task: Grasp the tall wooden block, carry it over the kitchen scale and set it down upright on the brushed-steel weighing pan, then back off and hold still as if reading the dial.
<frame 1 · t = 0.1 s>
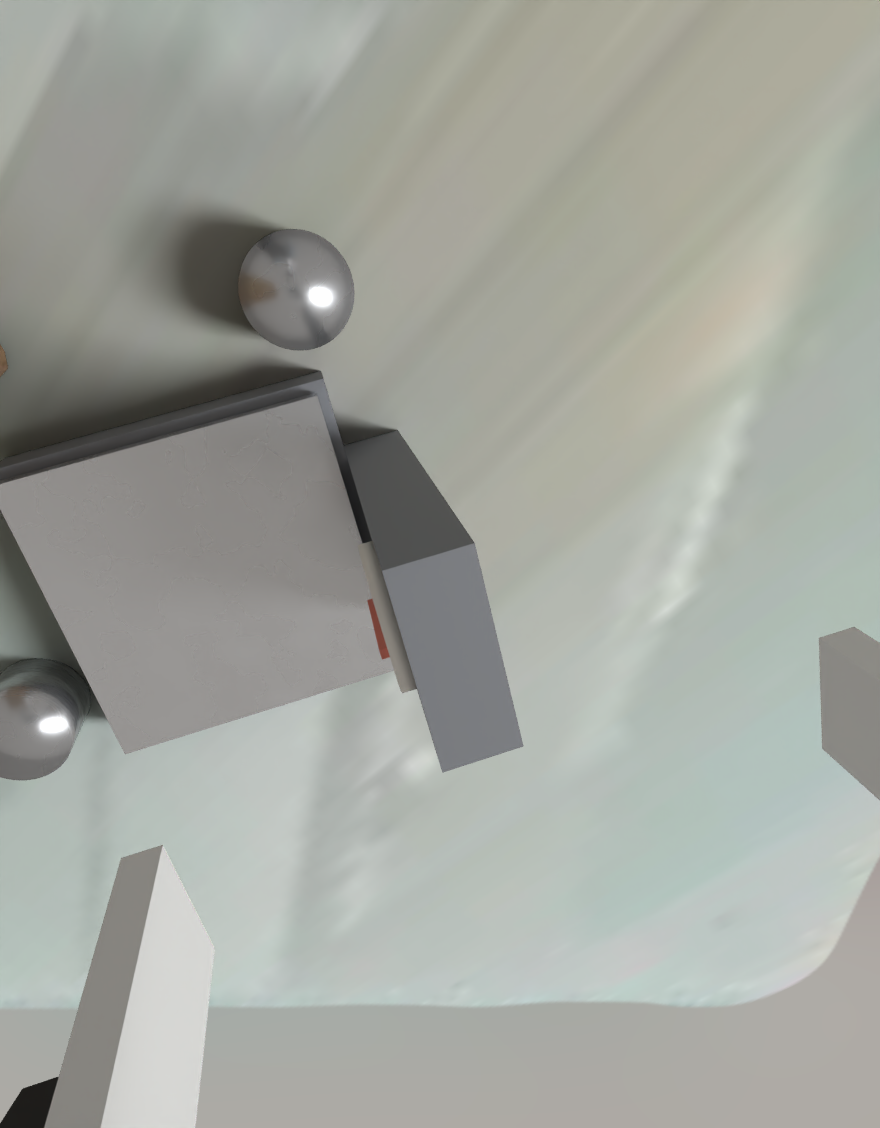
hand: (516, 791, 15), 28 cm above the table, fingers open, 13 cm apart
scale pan: (218, 572, 38), point 2 cm above the table, slide at -1.1 cm
spacer b: (296, 289, 36), on the table
spacer a: (42, 698, 42), on the table
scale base: (221, 556, 40), on the table
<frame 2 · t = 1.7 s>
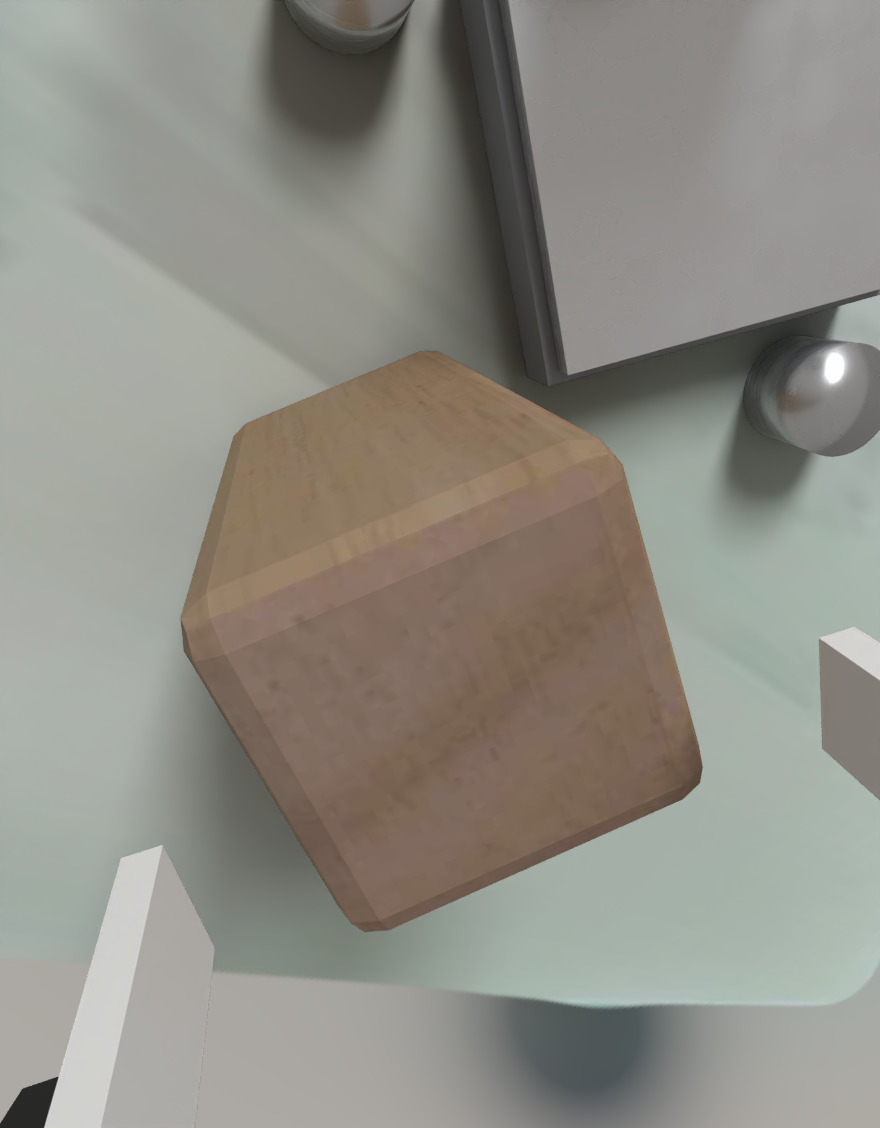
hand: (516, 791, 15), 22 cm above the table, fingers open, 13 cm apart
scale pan: (699, 132, 30), point 2 cm above the table, slide at -1.1 cm
wooden block: (375, 484, 35), on the table
spacer a: (789, 388, 37), on the table
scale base: (672, 141, 32), on the table
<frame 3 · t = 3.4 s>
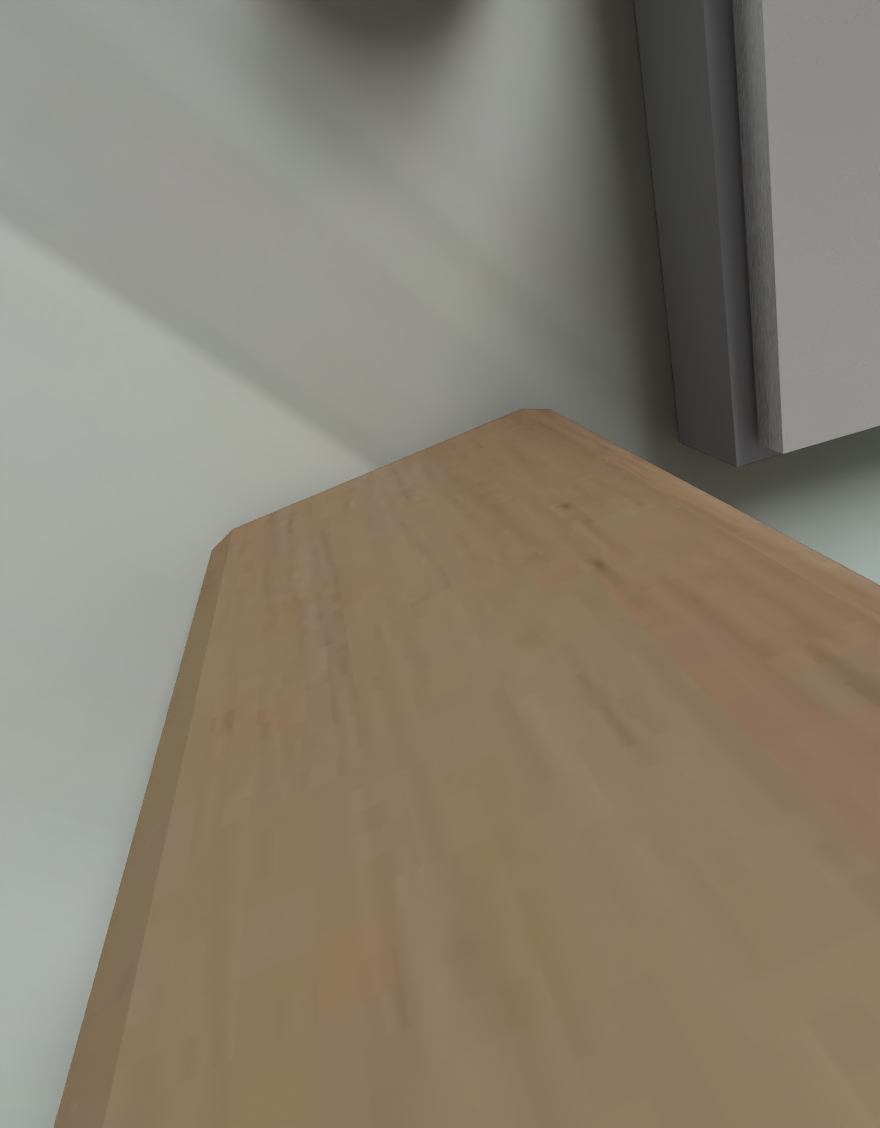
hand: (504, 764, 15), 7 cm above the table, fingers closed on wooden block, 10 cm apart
wooden block: (436, 610, 22), on the table, touching gripper
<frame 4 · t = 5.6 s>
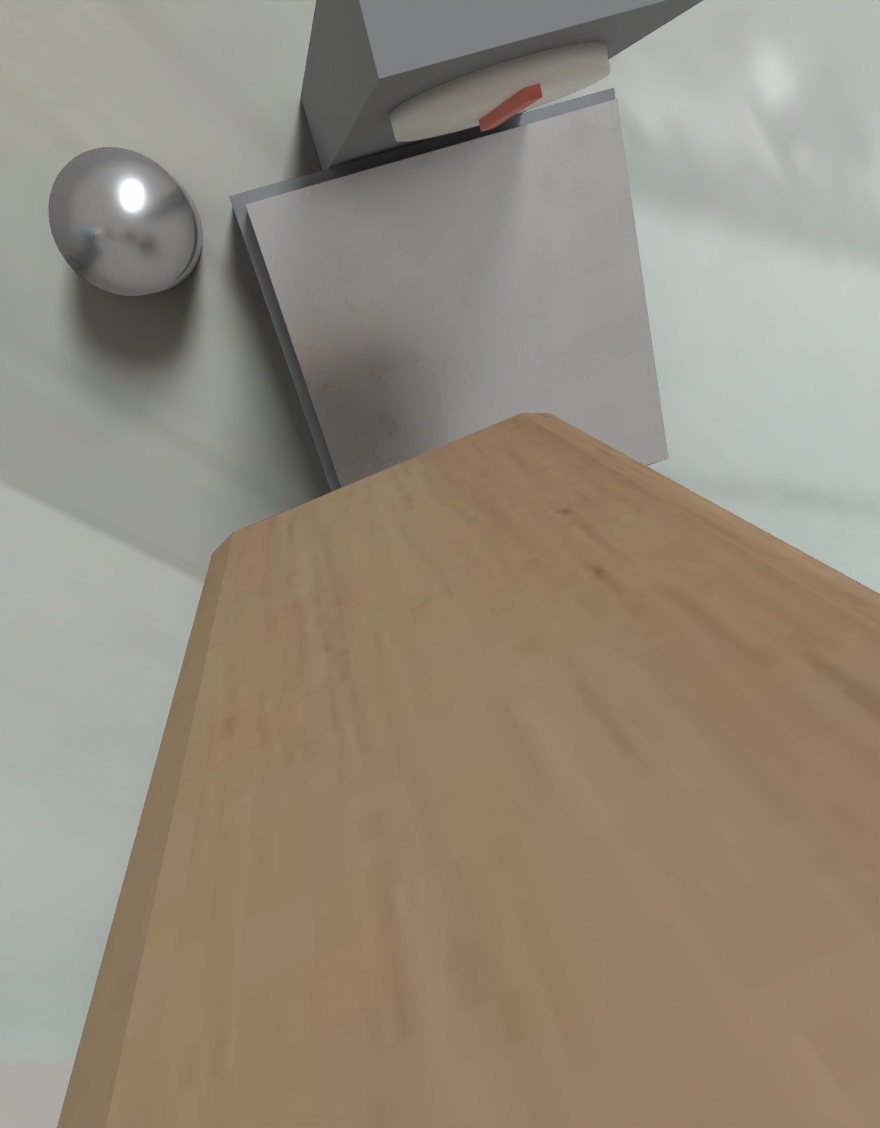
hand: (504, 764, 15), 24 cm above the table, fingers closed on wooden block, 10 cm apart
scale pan: (470, 342, 33), point 2 cm above the table, slide at -1.1 cm
wooden block: (436, 613, 22), point 16 cm above the table, touching gripper
spacer b: (140, 229, 31), on the table
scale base: (458, 337, 35), on the table
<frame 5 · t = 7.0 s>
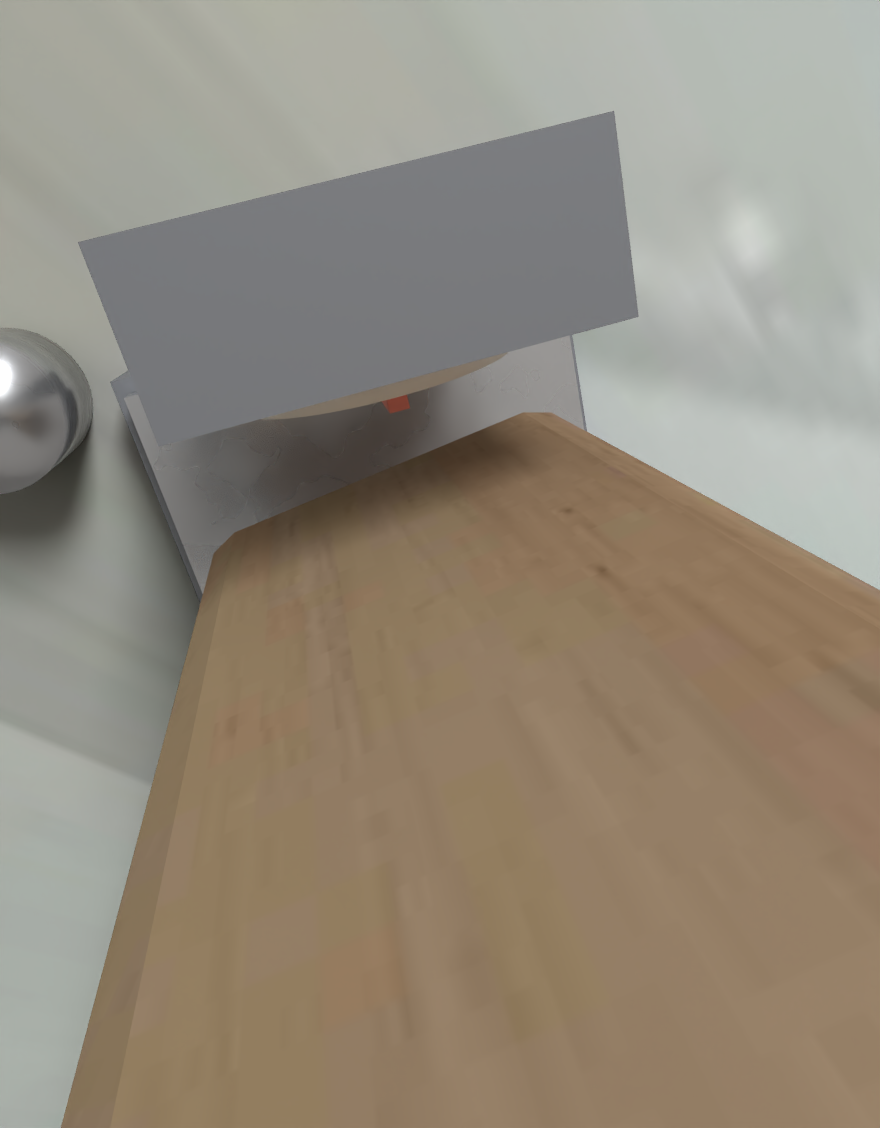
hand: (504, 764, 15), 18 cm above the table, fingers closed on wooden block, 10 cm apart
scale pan: (396, 526, 29), point 2 cm above the table, slide at -1.1 cm
wooden block: (438, 612, 22), point 10 cm above the table, touching gripper
spacer b: (20, 398, 27), on the table
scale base: (389, 509, 32), on the table
when the fingers open (14 cm above the table, at t = 8.2 s): wooden block drops 3 cm, resting on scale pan.
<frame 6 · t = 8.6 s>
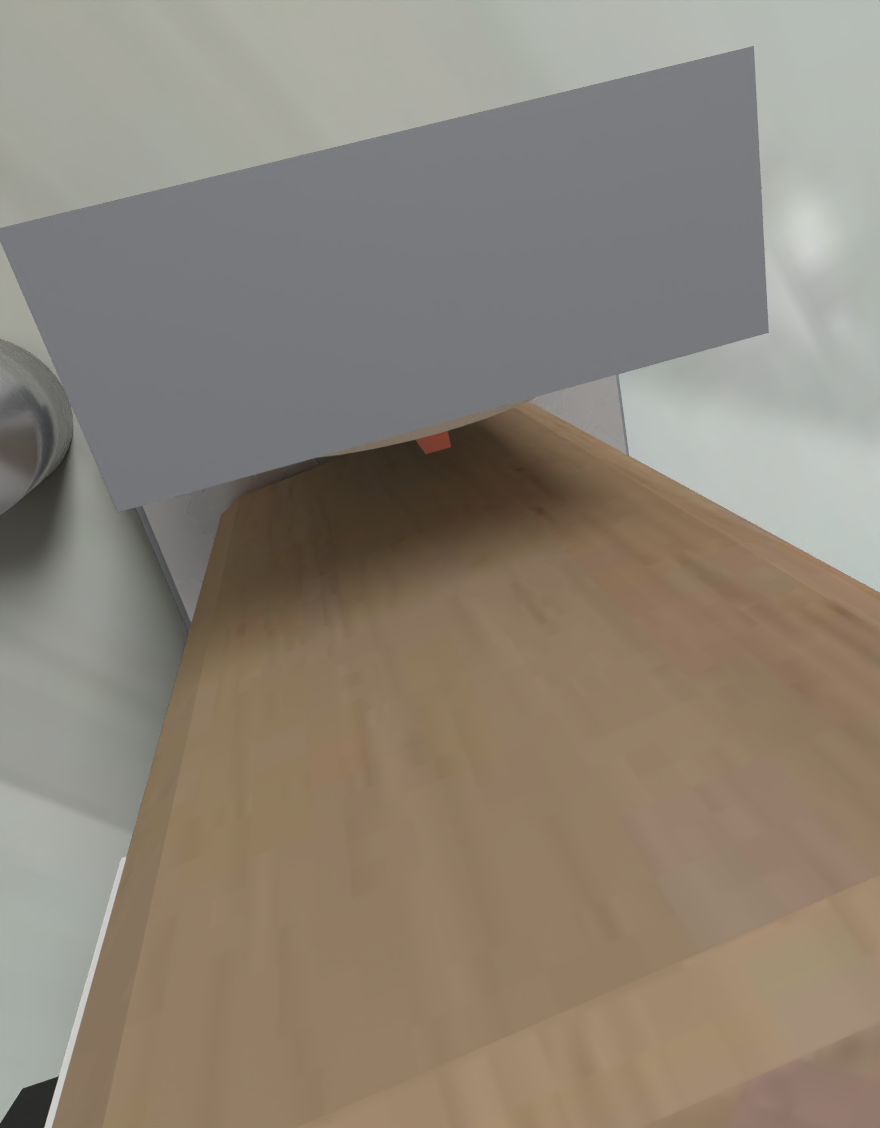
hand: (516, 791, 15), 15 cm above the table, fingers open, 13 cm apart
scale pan: (413, 556, 26), point 2 cm above the table, slide at -1.2 cm, touching wooden block
wooden block: (419, 576, 25), point 4 cm above the table, touching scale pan
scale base: (404, 536, 28), on the table
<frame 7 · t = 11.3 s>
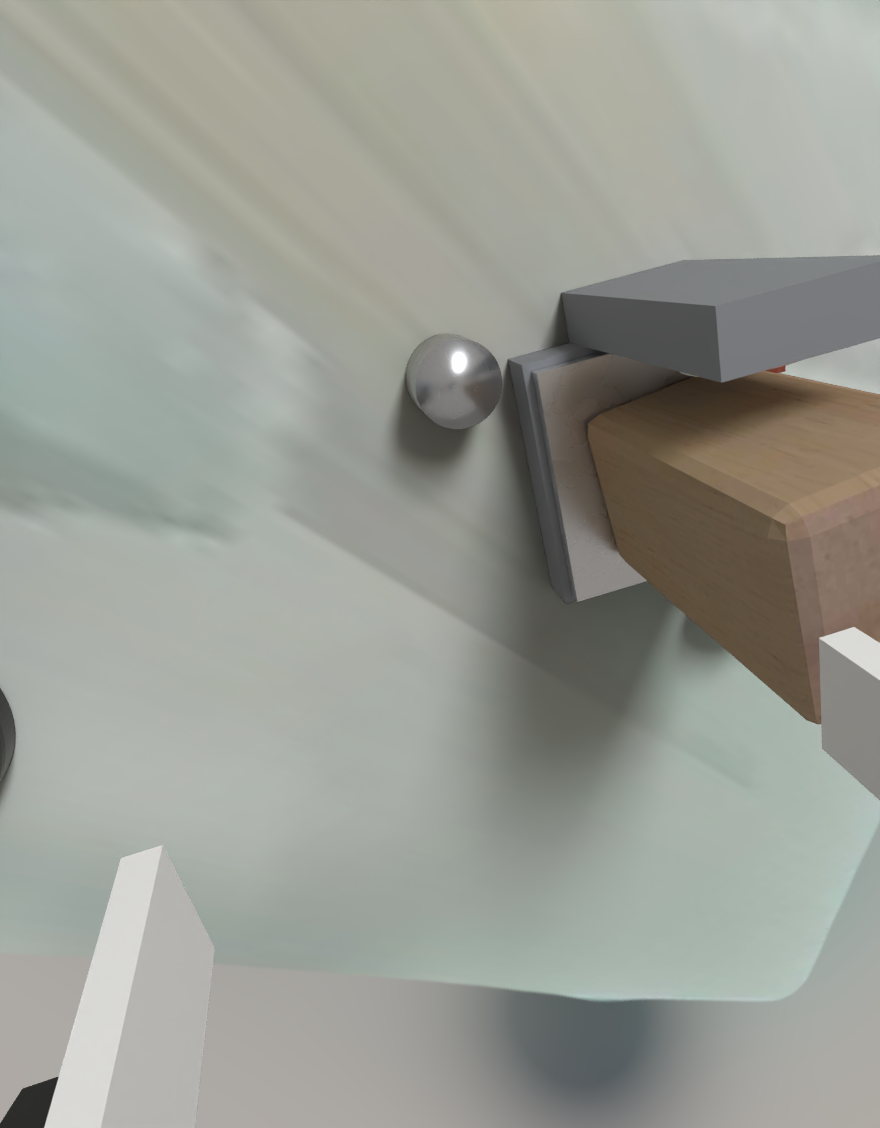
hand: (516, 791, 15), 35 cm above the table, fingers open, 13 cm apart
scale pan: (659, 455, 48), point 2 cm above the table, slide at -1.2 cm, touching wooden block
wooden block: (670, 462, 46), point 4 cm above the table, touching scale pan
spacer b: (445, 375, 46), on the table
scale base: (644, 447, 50), on the table
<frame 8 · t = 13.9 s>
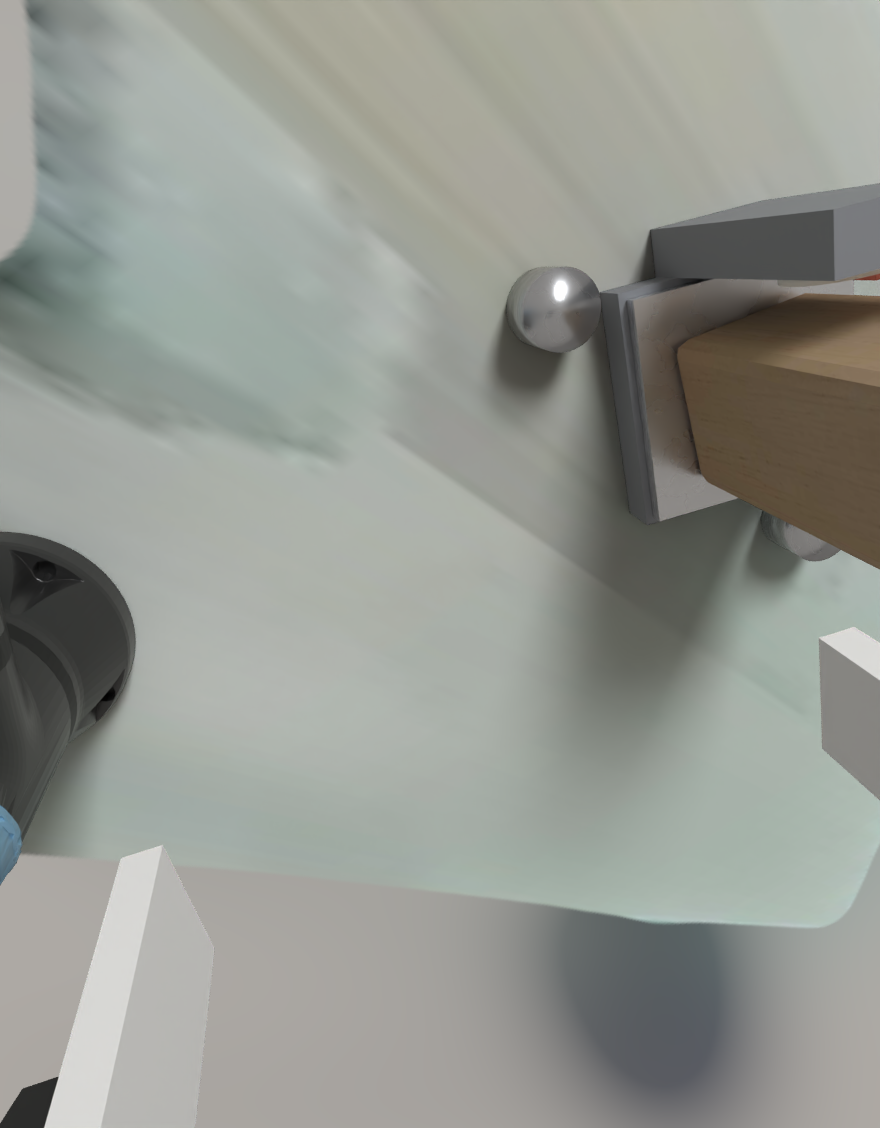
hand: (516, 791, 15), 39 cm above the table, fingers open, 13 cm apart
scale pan: (736, 384, 52), point 2 cm above the table, slide at -1.2 cm, touching wooden block
wooden block: (749, 388, 50), point 4 cm above the table, touching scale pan
spacer b: (542, 307, 50), on the table
spacer a: (790, 513, 59), on the table
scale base: (720, 379, 54), on the table
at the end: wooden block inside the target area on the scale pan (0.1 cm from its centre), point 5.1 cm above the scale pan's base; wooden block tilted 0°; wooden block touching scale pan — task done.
